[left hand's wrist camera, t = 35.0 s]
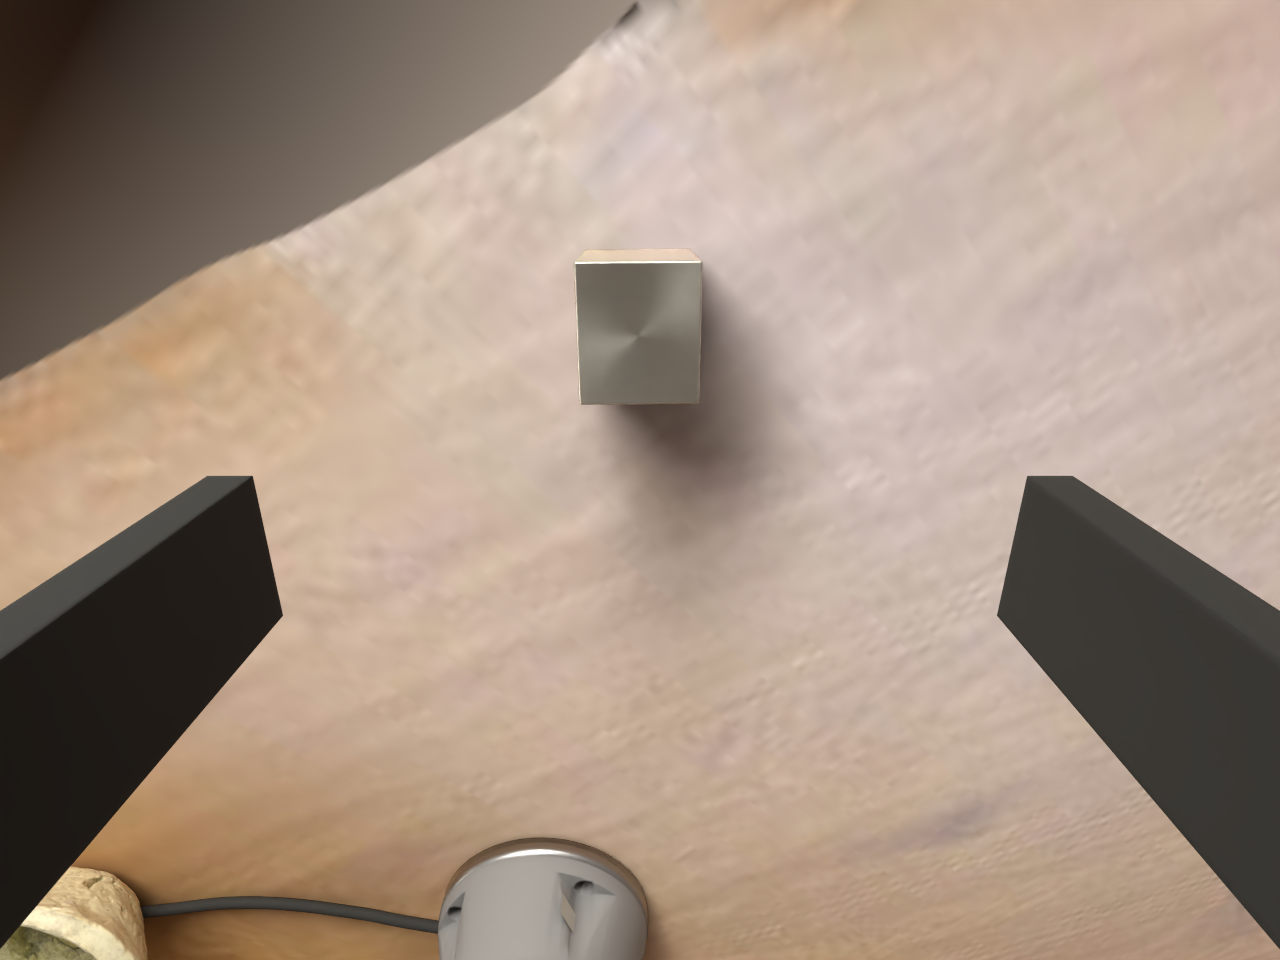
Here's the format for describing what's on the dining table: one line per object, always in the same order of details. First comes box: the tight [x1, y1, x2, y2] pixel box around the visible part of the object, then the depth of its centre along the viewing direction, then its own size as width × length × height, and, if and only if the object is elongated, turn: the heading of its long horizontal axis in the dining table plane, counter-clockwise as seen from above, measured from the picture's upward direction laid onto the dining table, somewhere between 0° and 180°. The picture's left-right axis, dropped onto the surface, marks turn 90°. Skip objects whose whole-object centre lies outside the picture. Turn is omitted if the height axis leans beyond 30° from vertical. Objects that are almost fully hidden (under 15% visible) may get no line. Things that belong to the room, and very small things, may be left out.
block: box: [574, 249, 702, 405], centre depth 34 cm, size 6×5×7 cm
